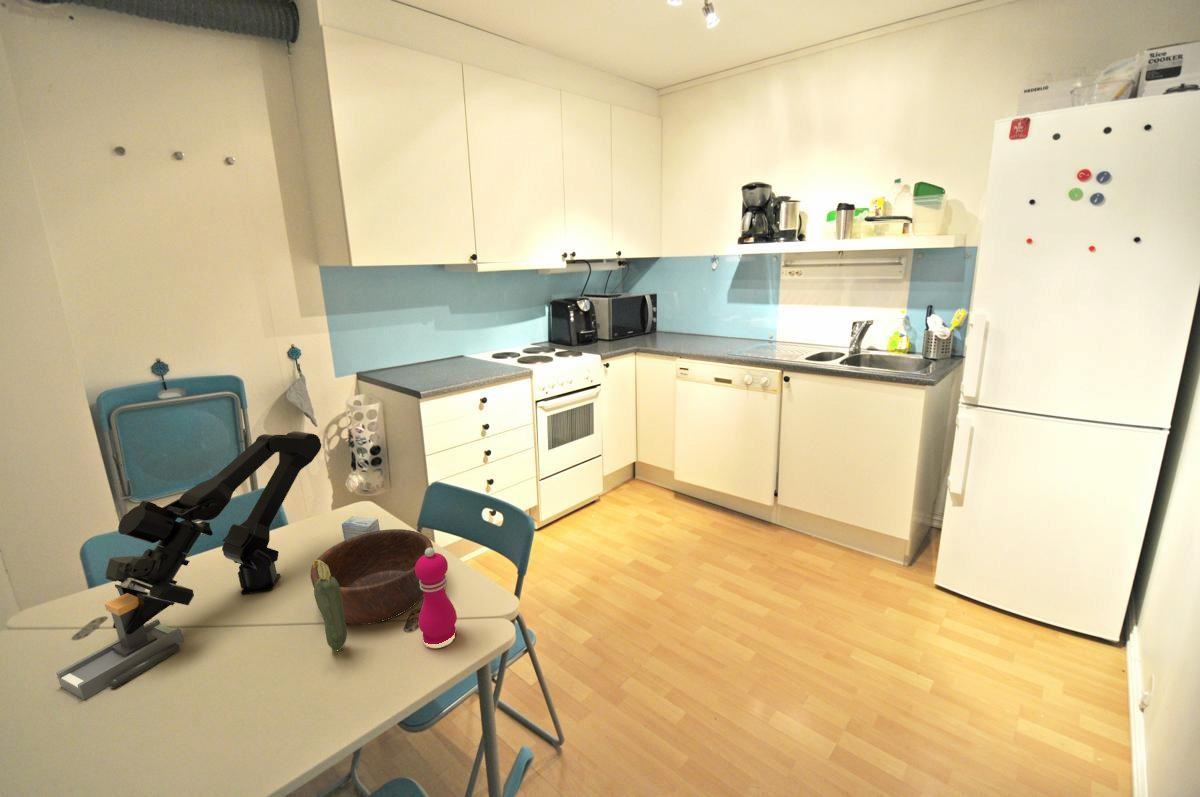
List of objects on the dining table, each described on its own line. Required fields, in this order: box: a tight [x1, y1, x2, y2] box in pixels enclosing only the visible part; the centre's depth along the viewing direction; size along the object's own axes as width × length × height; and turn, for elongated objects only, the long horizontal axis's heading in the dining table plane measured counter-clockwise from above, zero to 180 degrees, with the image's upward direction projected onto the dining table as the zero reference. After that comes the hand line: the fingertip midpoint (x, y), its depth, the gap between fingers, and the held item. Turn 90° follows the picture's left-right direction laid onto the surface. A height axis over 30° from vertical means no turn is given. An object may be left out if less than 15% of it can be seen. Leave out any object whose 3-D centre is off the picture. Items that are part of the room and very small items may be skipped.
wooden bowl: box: [310, 528, 434, 625], centre depth 120 cm, size 25×25×10 cm
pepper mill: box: [415, 547, 458, 644], centre depth 105 cm, size 7×7×20 cm
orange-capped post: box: [104, 593, 157, 657], centre depth 103 cm, size 5×5×10 cm
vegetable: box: [312, 559, 348, 652], centre depth 102 cm, size 4×4×20 cm
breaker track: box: [56, 618, 185, 701], centre depth 103 cm, size 16×13×3 cm
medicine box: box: [341, 515, 381, 541], centre depth 140 cm, size 8×4×9 cm, turn 77°
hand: (121, 631), depth 102 cm, fingers closed on orange-capped post, 4 cm apart
